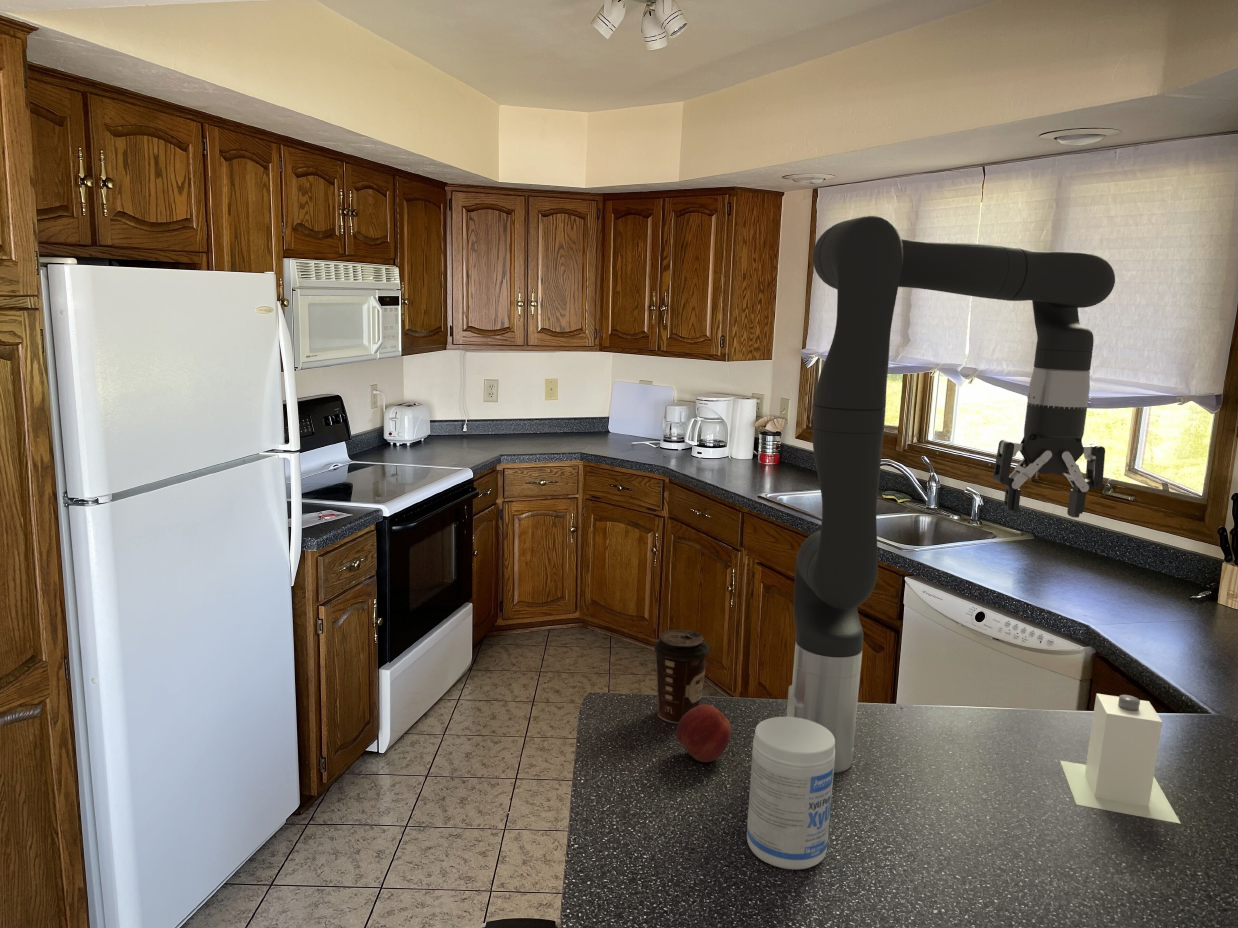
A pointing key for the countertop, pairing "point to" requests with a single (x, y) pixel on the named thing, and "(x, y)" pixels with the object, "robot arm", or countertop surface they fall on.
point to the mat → (1085, 797)
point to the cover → (1123, 749)
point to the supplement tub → (790, 792)
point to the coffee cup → (679, 672)
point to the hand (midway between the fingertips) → (1042, 514)
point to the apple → (704, 733)
